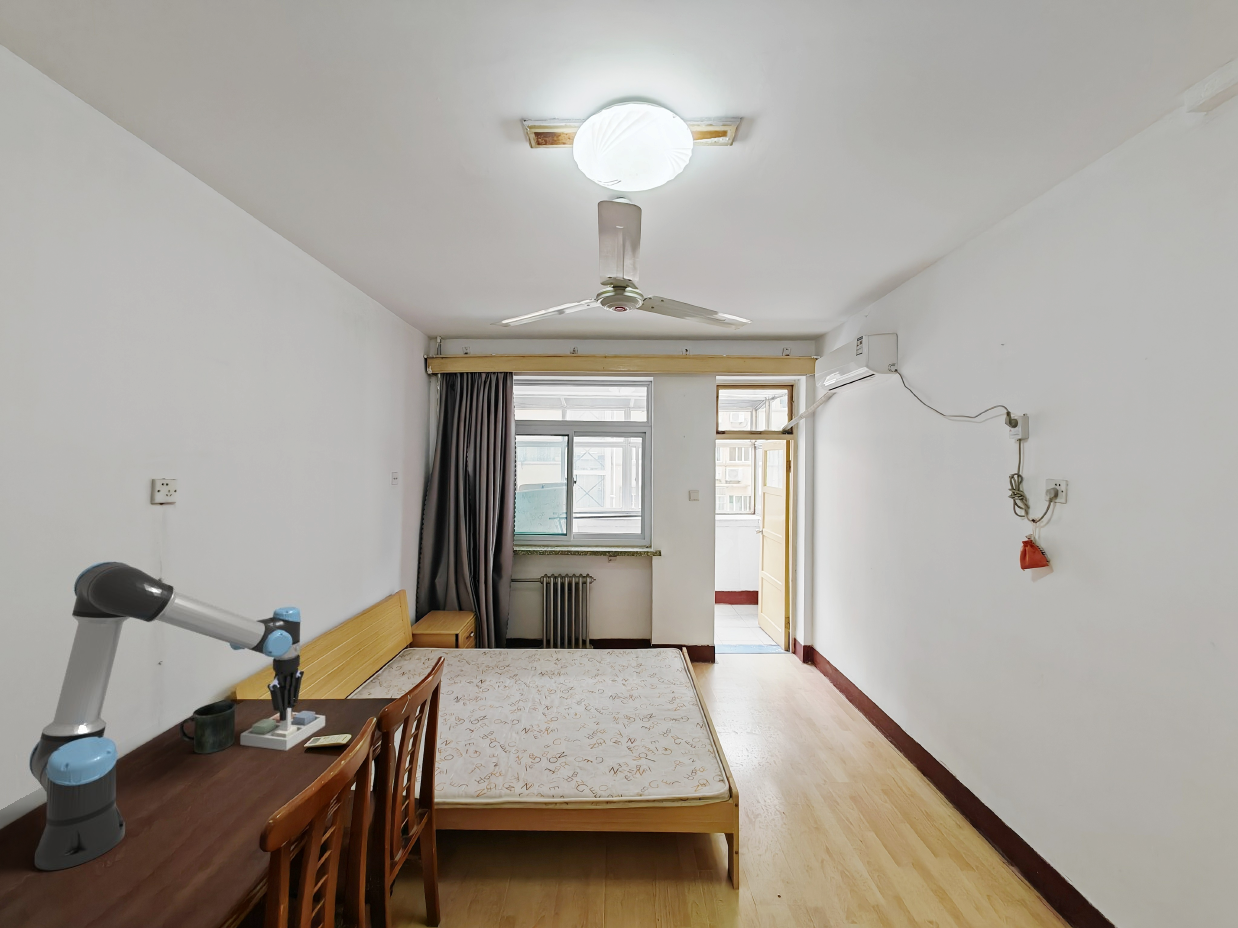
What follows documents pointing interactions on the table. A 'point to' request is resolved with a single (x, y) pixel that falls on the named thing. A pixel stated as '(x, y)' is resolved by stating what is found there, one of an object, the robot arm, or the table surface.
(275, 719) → the key terracotta
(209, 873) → the table surface
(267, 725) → the key sage
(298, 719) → the key slate
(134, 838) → the table surface
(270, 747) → the frame
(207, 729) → the mug
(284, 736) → the key ivory
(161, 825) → the table surface
